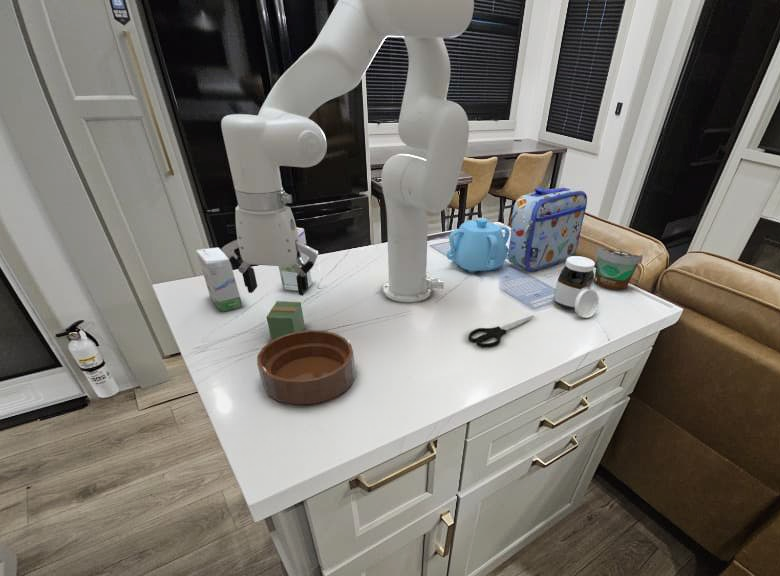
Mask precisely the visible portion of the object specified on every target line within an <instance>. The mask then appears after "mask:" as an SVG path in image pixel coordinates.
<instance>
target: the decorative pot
mask: <svg viewBox="0 0 780 576" xmlns="http://www.w3.org/2000/svg"><path fill="white" fill-rule="evenodd" d="M503 230H504V233H503ZM510 236H511V231H510V230H509V228H508V227H507V226H506V225H501V224H500V225H498V224H495V223H493V222H491V221H489V219H487V218H484V217H477V218H475V220H473V219H468V220H465V222H463V223H461V224H460V226H459V227H458V228H456V229H454V230H452V231H451V232H450V234H449V236H448V241H449V245H450V250H448V251H447V253H446V258H447V259H448V260H450V261H454V262H455V263H456V265H458V266H459V268H462V269H464V270H467V272H468V273H471V274H472V273H473V274H475V273H477V272H478V271H481V272H482V271H496V270H497V269H498V268H500V267H501V266H502V265H503V264H504V263H505V261H506V259H507V255H508V250H509V246H507V242H509V241H508V240H509V239H510Z"/></svg>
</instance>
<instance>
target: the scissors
mask: <svg viewBox="0 0 780 576" xmlns="http://www.w3.org/2000/svg"><path fill="white" fill-rule="evenodd" d="M533 318H534V315H530V316H527V317H523V318H521V319H518V320H516V321H513V322H510V323H508V324H506V325H504V326H502V327H500V326H499V325H497V326H495V327H479V328H476V329H473V330H472V331H470V333H469V334H468V337H467V338H468V342H470V343H476V346H477V347H478V348H484V349H485V348H492V347H496V346H498V345H499V344H500V343H501V339H502V337H503V336H504V335H505V334H507V331H509V330H511V329H514V328H516V327H517V326H520V325H522V324H523V323H525V322H526V323H527V321H529V320H531V319H533ZM479 333H484V334H481V335H478V337H475V338H474V337H473V336H474V335H476V334H479ZM493 338H495V339H496V340H494V341H492V342H487V341H489V340H490V339H493ZM486 342H487V343H486Z"/></svg>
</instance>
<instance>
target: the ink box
mask: <svg viewBox="0 0 780 576" xmlns="http://www.w3.org/2000/svg"><path fill="white" fill-rule="evenodd" d="M195 252H196V256H197V258H198V259H197V260H198V262H199V265H200V268H201V271H202V275H203V278H204V281H205V285H206V288H207V291H208V294H209V297H210V299H211V300H212V302H213V303H214V304H215V306H216V307H217V308H218V309H219V311H220V312H223V313H225V312H228V311H232V310H236V309H239V308H243V307H244V306H243V302H242V299H241V296H240V292H239V289H238V285H237V280H236V277H235V273H234V270H233V266H232V263H230V261H229V258H227V257H226V255H225V254H224V253H223V251H222V249H221V248H220V247H209V248H201V249H197V250H196V251H195Z"/></svg>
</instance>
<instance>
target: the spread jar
mask: <svg viewBox="0 0 780 576" xmlns="http://www.w3.org/2000/svg"><path fill="white" fill-rule="evenodd" d="M595 265H596V262H595V261H594V260H592V259H591V258H588V257H585V256H582V255H581V256H580V255H572V256H570V257H568V258H567V259H565V266H564V267H563V268H562V269H561V271H560V273H559V276H558V278H557V281H556V286H555V289H554V295H553V302H554V304H555V305H556V306H558V308H561V309H563V310H565V311H571V312H572V311H574V312H575V314H576V315H577V316H578V317H580V318H582V319H583V318H585V319H589V318H591V317H593V316H594V314H595V313H596V312H597V310H598V308H599V302H600V301H599V300H600V298H599V295H598V293H597V292H596V291H595V290H594V289H592V287H593V283H594V277H595V272H594V269H595Z"/></svg>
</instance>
